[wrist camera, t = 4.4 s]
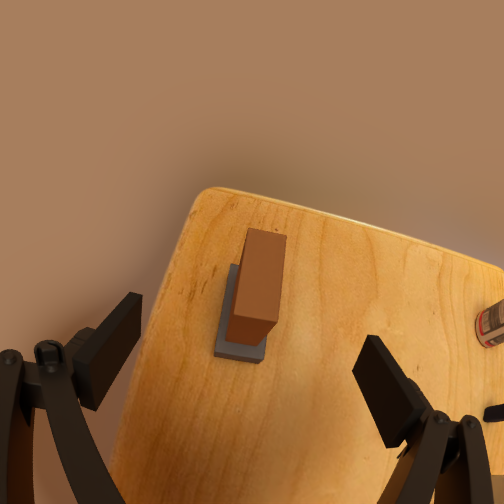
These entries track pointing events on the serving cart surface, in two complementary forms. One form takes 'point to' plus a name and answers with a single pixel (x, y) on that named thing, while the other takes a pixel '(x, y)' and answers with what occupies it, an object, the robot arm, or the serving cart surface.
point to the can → (498, 488)
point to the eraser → (494, 413)
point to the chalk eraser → (252, 298)
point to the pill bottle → (491, 325)
